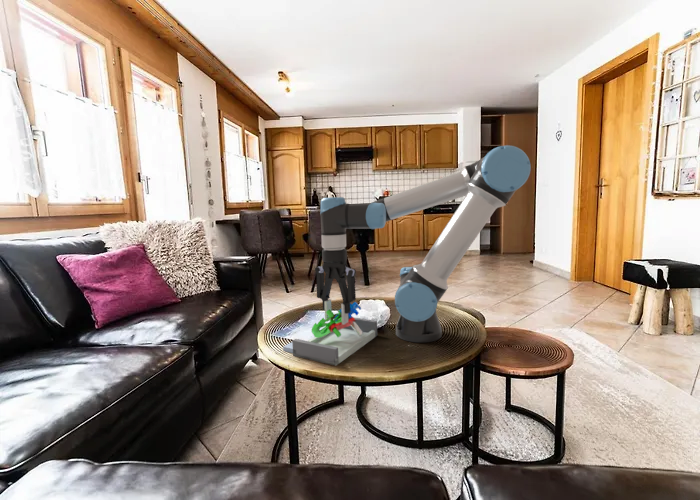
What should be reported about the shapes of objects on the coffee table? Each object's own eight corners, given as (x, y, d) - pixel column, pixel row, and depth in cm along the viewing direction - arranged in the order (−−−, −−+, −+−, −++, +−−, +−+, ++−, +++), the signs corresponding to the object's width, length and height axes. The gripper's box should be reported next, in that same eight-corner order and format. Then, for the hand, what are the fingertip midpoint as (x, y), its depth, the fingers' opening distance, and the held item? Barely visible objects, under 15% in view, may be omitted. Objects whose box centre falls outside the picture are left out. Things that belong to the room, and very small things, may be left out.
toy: (346, 321, 126) (362, 299, 120) (362, 342, 121) (380, 320, 116) (303, 335, 110) (319, 310, 105) (320, 360, 106) (338, 335, 101)
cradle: (377, 335, 121) (376, 320, 121) (335, 366, 99) (335, 349, 98) (339, 328, 129) (338, 315, 128) (293, 356, 107) (292, 340, 106)
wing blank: (298, 344, 116) (298, 338, 116) (308, 347, 114) (307, 341, 114) (283, 352, 111) (283, 346, 110) (293, 355, 108) (292, 349, 108)
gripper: (366, 248, 108) (368, 322, 111) (316, 245, 118) (319, 314, 121) (354, 251, 102) (356, 330, 105) (302, 248, 111) (305, 321, 114)
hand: (336, 321), depth 113 cm, fingers closed on toy, 5 cm apart
